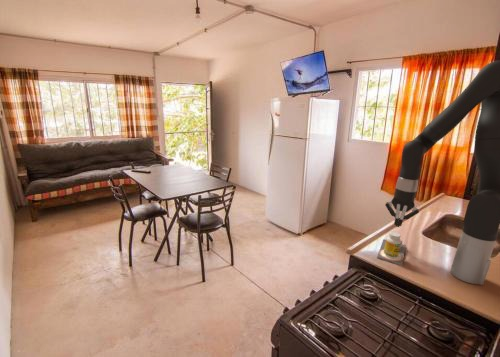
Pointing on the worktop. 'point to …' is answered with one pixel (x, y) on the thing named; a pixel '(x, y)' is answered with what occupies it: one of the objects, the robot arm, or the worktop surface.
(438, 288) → the worktop surface
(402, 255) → the grey rectangular board
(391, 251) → the supplement bottle
